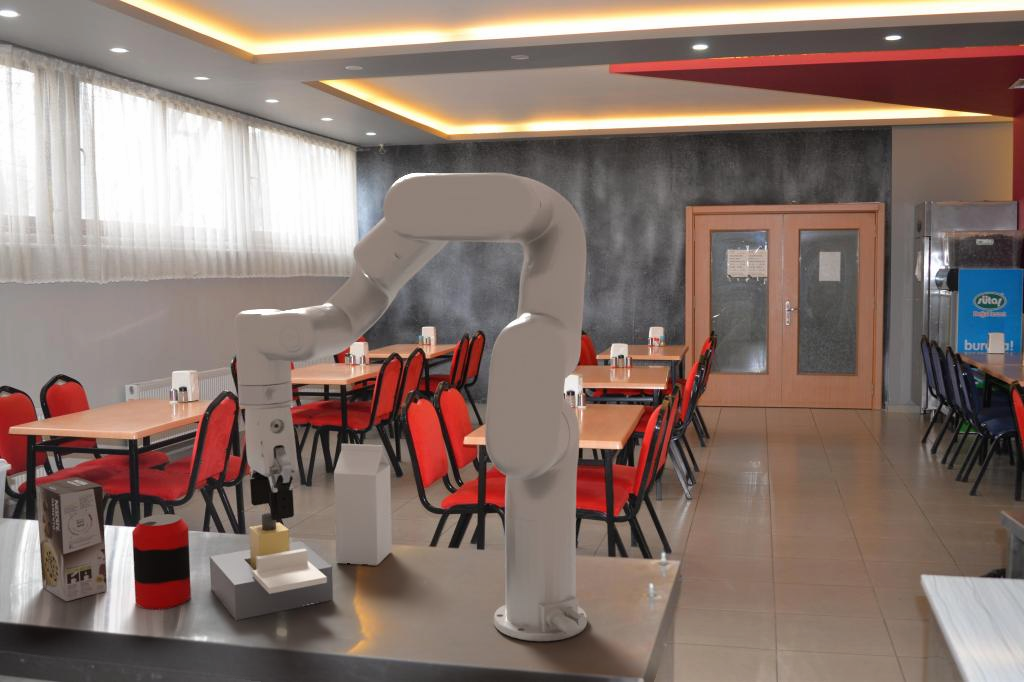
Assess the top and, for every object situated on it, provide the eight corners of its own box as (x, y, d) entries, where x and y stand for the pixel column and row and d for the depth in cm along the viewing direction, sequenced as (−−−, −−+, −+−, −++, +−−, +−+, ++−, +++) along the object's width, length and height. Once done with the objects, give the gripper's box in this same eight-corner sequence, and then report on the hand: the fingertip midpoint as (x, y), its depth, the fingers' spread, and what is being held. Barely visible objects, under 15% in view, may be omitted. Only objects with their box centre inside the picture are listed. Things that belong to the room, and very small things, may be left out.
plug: (290, 596, 138) (288, 516, 137) (260, 602, 136) (257, 521, 135) (281, 586, 142) (279, 509, 141) (251, 592, 140) (249, 513, 138)
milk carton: (377, 566, 151) (375, 450, 149) (335, 563, 152) (332, 448, 150) (391, 552, 158) (389, 441, 156) (351, 549, 159) (349, 439, 157)
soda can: (123, 606, 135) (119, 524, 133) (161, 588, 142) (158, 510, 140) (165, 613, 132) (162, 530, 131) (202, 594, 139) (199, 515, 138)
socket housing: (332, 600, 136) (332, 566, 136) (235, 620, 129) (234, 584, 129) (301, 571, 148) (300, 541, 148) (210, 588, 141) (209, 556, 141)
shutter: (326, 582, 129) (326, 562, 129) (269, 593, 125) (268, 573, 125) (307, 565, 136) (307, 547, 136) (252, 575, 132) (251, 556, 132)
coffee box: (109, 591, 140) (104, 485, 139) (65, 603, 136) (59, 493, 134) (83, 576, 147) (78, 475, 145) (40, 587, 142) (34, 483, 140)
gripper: (310, 399, 130) (317, 519, 132) (273, 386, 145) (279, 494, 147) (256, 405, 126) (264, 529, 128) (224, 391, 141) (230, 502, 143)
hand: (272, 510), depth 137 cm, fingers open, 9 cm apart
